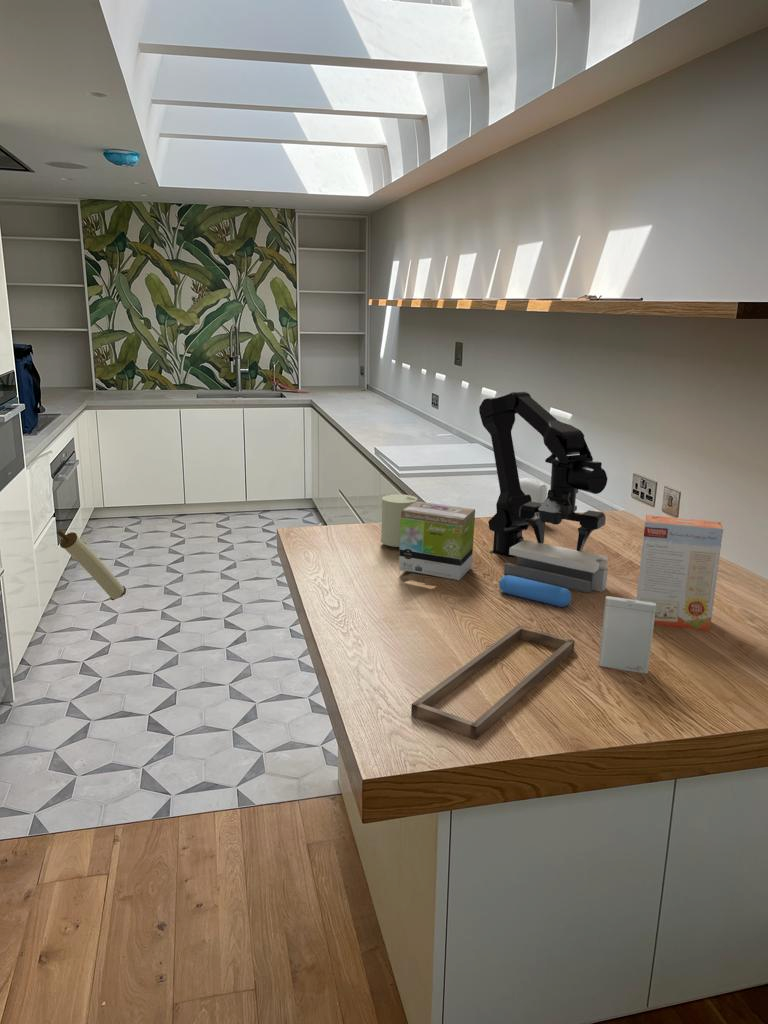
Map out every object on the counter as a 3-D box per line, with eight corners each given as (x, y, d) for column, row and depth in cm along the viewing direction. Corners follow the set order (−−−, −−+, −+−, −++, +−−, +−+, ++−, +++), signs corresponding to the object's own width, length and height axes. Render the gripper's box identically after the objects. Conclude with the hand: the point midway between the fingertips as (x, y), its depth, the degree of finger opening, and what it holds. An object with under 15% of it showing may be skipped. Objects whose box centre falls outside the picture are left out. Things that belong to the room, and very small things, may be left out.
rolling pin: (67, 534, 200) (68, 520, 204) (47, 541, 201) (49, 528, 204) (134, 604, 223) (134, 590, 226) (116, 611, 223) (117, 597, 227)
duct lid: (509, 554, 179) (509, 547, 178) (523, 546, 185) (524, 539, 185) (599, 573, 167) (600, 566, 167) (612, 564, 174) (612, 557, 173)
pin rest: (411, 716, 118) (411, 704, 118) (517, 635, 148) (518, 625, 147) (476, 739, 112) (476, 727, 112) (573, 650, 142) (574, 640, 141)
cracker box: (708, 622, 156) (722, 520, 151) (709, 633, 151) (724, 528, 145) (634, 611, 160) (645, 512, 155) (633, 622, 155) (645, 520, 149)
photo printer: (509, 518, 228) (512, 476, 225) (519, 515, 231) (522, 474, 228) (537, 526, 220) (540, 483, 217) (546, 523, 223) (550, 481, 220)
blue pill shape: (495, 593, 169) (496, 576, 168) (503, 588, 172) (504, 571, 171) (566, 611, 160) (567, 592, 159) (573, 605, 163) (575, 587, 162)
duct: (504, 574, 181) (505, 554, 180) (518, 565, 187) (519, 546, 186) (597, 595, 169) (599, 574, 168) (609, 585, 175) (611, 565, 174)
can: (416, 547, 199) (418, 501, 196) (380, 546, 199) (381, 500, 196) (415, 536, 208) (417, 492, 205) (380, 536, 208) (381, 491, 205)
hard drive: (647, 674, 133) (656, 606, 130) (598, 666, 136) (605, 598, 133) (648, 670, 135) (656, 602, 131) (599, 662, 137) (606, 595, 134)
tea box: (397, 571, 181) (399, 509, 177) (412, 559, 190) (414, 499, 186) (460, 581, 176) (463, 517, 172) (472, 568, 185) (476, 507, 181)
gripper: (510, 486, 176) (507, 552, 180) (590, 497, 166) (585, 567, 170) (530, 477, 185) (527, 541, 189) (608, 487, 175) (603, 555, 179)
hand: (559, 551), depth 181 cm, fingers open, 9 cm apart
